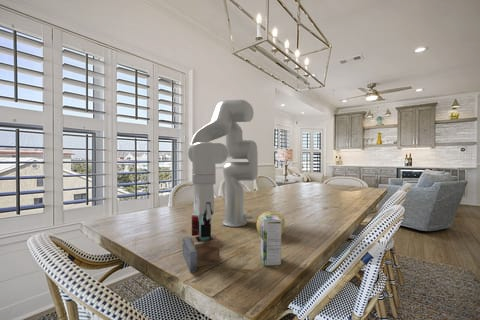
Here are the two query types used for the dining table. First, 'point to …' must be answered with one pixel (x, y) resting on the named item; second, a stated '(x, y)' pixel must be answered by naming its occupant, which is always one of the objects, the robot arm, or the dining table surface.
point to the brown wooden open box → (207, 250)
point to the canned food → (194, 224)
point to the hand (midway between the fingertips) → (204, 234)
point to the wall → (190, 254)
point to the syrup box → (270, 240)
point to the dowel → (200, 230)
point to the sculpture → (270, 214)
